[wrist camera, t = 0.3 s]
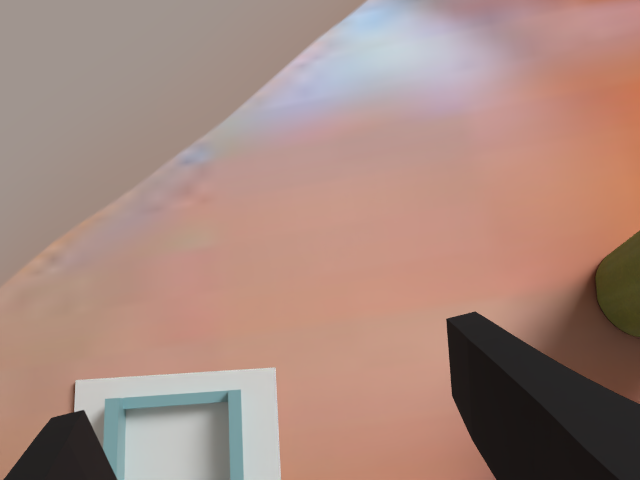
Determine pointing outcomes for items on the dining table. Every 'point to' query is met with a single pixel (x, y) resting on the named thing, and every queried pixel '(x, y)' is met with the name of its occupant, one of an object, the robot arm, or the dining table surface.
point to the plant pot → (621, 286)
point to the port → (186, 424)
